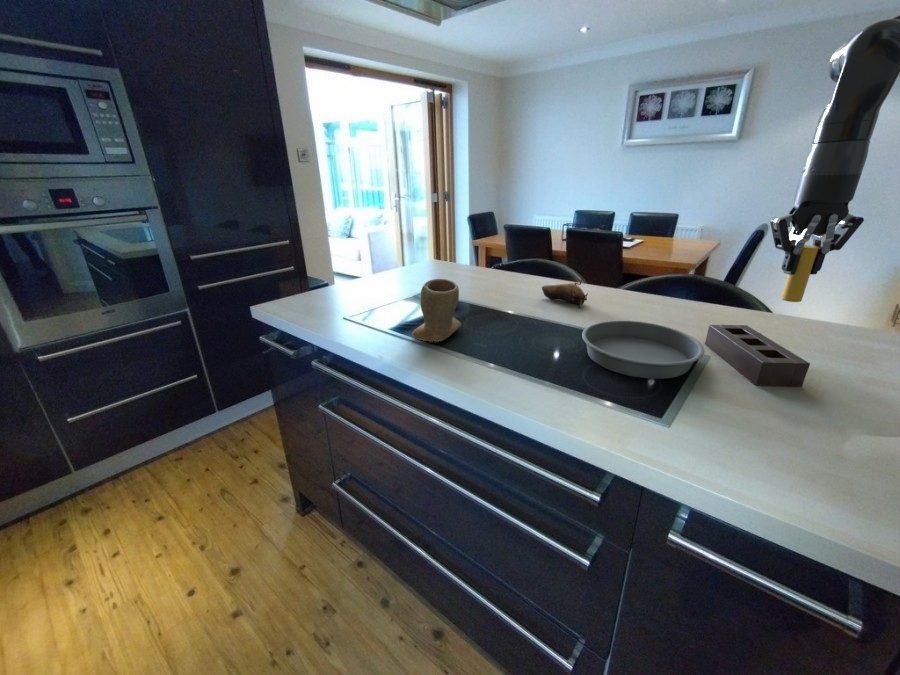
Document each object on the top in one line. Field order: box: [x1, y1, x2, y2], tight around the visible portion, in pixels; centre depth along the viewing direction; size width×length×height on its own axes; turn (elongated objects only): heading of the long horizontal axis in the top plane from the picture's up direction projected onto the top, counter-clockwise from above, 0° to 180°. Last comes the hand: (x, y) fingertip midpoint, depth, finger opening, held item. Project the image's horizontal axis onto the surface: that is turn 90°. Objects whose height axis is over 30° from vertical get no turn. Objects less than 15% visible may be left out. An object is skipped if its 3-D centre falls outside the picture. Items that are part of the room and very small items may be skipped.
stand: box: [704, 324, 811, 388], centre depth 83 cm, size 8×20×5 cm, turn 174°
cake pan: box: [581, 320, 705, 380], centre depth 87 cm, size 25×25×4 cm
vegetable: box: [541, 276, 589, 308], centre depth 126 cm, size 16×11×10 cm
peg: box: [780, 244, 819, 303], centre depth 72 cm, size 3×3×10 cm
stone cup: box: [411, 278, 462, 343], centre depth 101 cm, size 15×12×15 cm
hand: (799, 273), depth 72 cm, fingers closed on peg, 3 cm apart
